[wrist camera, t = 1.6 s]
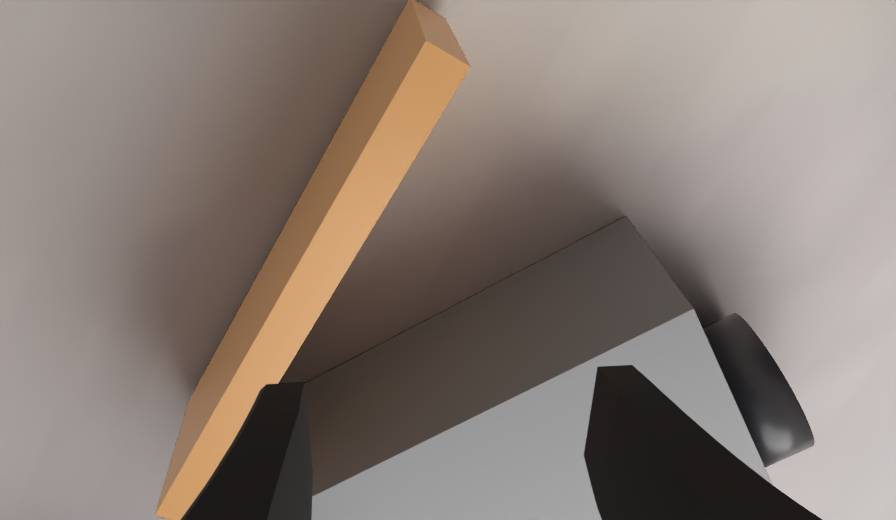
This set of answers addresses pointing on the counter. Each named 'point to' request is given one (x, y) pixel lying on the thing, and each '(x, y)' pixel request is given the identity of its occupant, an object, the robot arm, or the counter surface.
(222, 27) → the counter surface
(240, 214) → the counter surface
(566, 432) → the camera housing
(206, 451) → the long wooden stick
